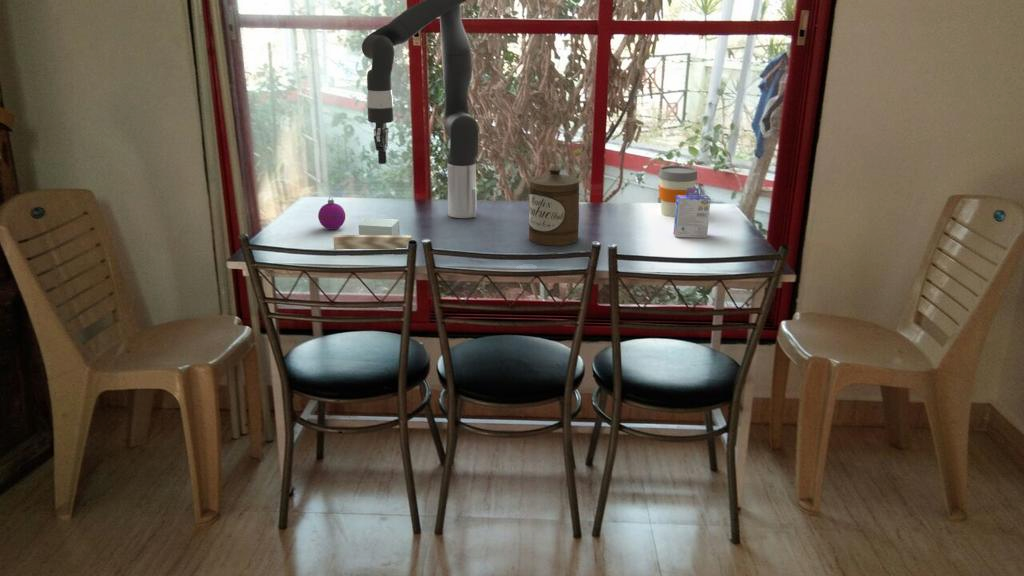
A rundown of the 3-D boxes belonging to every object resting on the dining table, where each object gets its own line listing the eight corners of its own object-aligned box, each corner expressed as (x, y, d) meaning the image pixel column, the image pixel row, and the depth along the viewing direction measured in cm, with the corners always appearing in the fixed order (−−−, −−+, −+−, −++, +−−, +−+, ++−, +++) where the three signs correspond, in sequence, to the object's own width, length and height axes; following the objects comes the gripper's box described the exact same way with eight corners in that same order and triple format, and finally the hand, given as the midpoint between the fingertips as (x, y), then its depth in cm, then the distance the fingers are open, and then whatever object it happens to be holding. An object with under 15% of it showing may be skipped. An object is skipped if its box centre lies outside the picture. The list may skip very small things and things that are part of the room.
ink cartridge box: (704, 233, 258) (708, 187, 253) (708, 238, 252) (712, 191, 247) (672, 232, 258) (675, 186, 253) (675, 238, 252) (679, 191, 247)
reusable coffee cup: (648, 212, 280) (651, 168, 275) (673, 207, 288) (677, 164, 283) (676, 220, 271) (679, 175, 266) (701, 214, 278) (705, 170, 273)
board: (412, 248, 239) (411, 235, 238) (411, 251, 237) (410, 237, 236) (335, 248, 239) (334, 234, 238) (334, 250, 237) (333, 236, 236)
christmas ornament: (316, 232, 254) (313, 200, 251) (323, 224, 262) (321, 193, 259) (342, 232, 254) (340, 200, 251) (348, 225, 262) (347, 194, 258)
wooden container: (518, 239, 250) (519, 166, 242) (549, 229, 260) (551, 159, 253) (557, 249, 241) (559, 174, 233) (587, 238, 251) (591, 166, 244)
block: (399, 235, 253) (399, 219, 251) (392, 243, 245) (391, 226, 244) (367, 233, 254) (367, 218, 252) (359, 241, 247) (358, 225, 245)
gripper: (389, 108, 241) (391, 168, 247) (395, 102, 253) (397, 159, 259) (363, 108, 241) (366, 167, 247) (371, 102, 253) (373, 159, 259)
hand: (382, 163), depth 253 cm, fingers closed
